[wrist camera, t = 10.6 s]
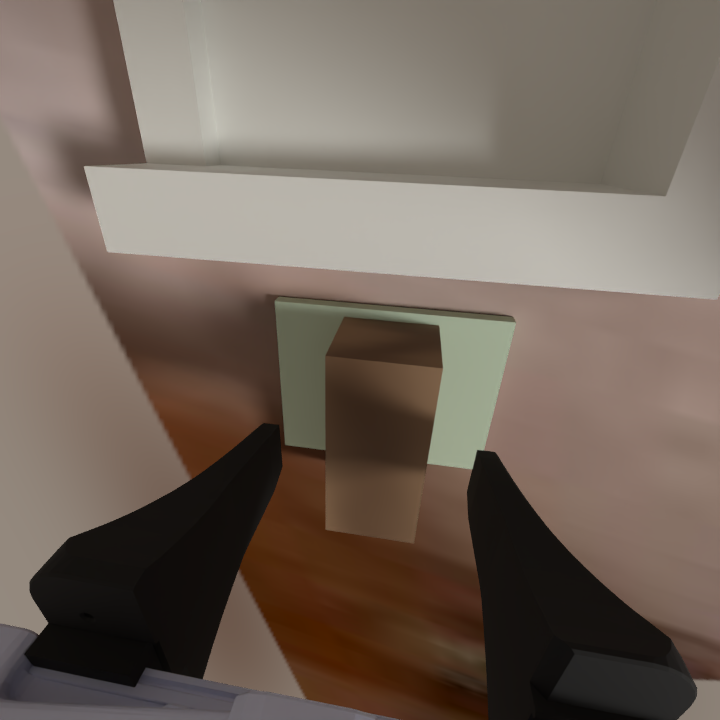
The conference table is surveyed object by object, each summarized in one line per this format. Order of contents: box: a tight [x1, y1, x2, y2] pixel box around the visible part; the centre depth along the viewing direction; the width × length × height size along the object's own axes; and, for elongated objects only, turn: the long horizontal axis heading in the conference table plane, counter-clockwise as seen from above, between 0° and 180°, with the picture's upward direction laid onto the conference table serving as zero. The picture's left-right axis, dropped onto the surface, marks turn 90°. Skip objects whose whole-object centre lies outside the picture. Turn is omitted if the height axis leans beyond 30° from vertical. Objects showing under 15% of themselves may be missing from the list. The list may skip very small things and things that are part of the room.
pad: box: [275, 297, 516, 469], centre depth 18 cm, size 10×8×1 cm
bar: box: [325, 317, 443, 543], centre depth 17 cm, size 4×9×4 cm, turn 178°
